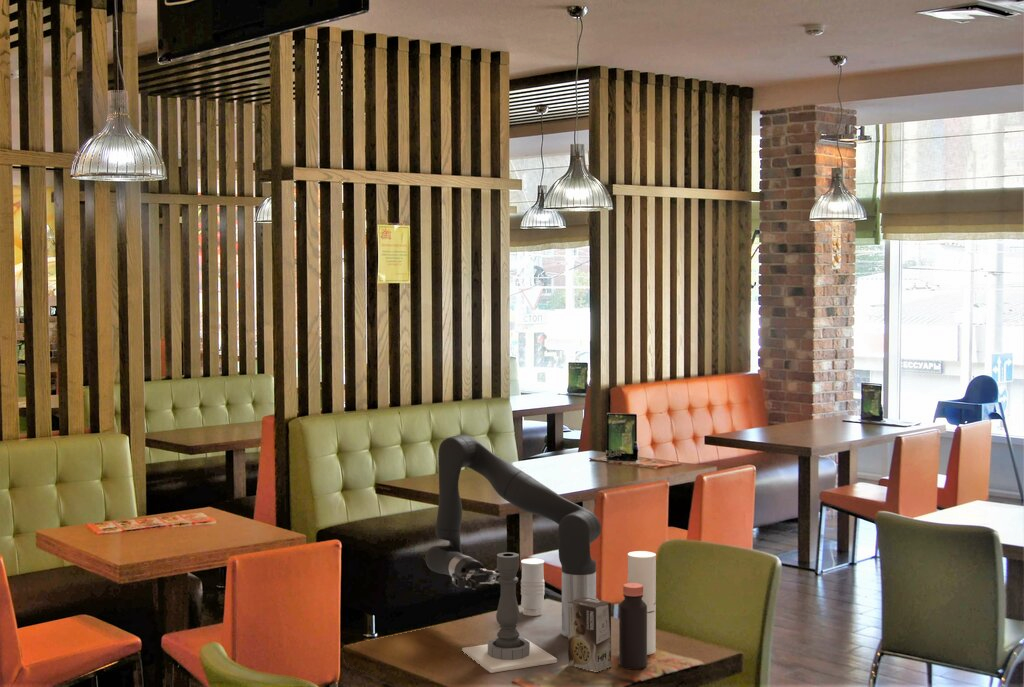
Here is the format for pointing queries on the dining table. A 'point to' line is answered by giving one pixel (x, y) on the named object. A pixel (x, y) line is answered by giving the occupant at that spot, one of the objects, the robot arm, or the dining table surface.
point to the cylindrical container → (645, 589)
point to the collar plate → (508, 664)
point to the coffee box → (589, 634)
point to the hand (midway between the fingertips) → (490, 584)
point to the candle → (532, 586)
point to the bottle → (633, 628)
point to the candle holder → (508, 601)
